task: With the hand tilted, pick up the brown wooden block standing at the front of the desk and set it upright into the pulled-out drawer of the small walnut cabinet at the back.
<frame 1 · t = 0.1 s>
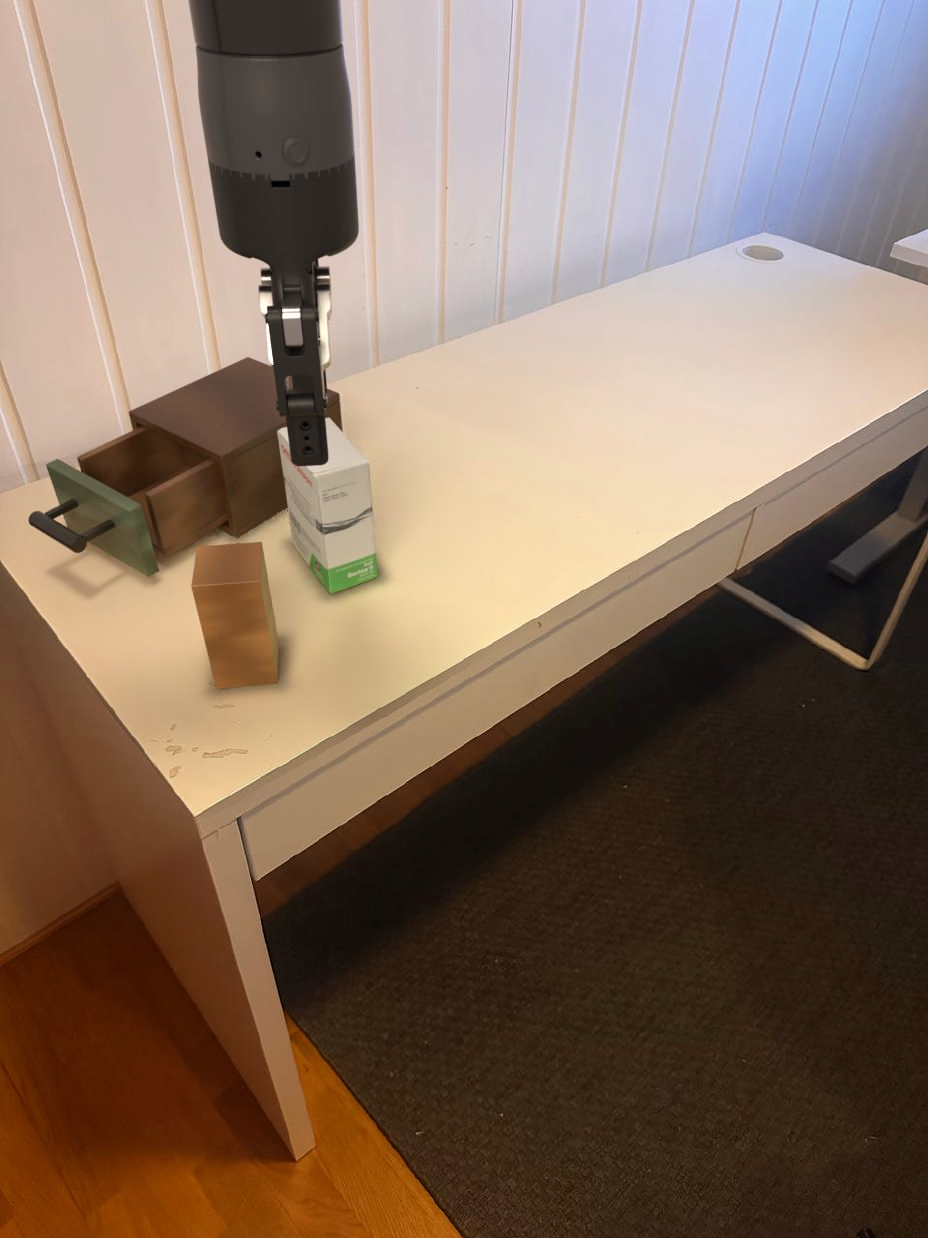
hand: (310, 427, 57), 20 cm above the table, tool pointing down, fingers open, 8 cm apart
brown wooden block: (248, 665, 69), on the table
cabinet: (249, 480, 89), on the table
ink box: (334, 562, 79), on the table
drawer: (141, 496, 79), point 4 cm above the table, slide at 8.0 cm
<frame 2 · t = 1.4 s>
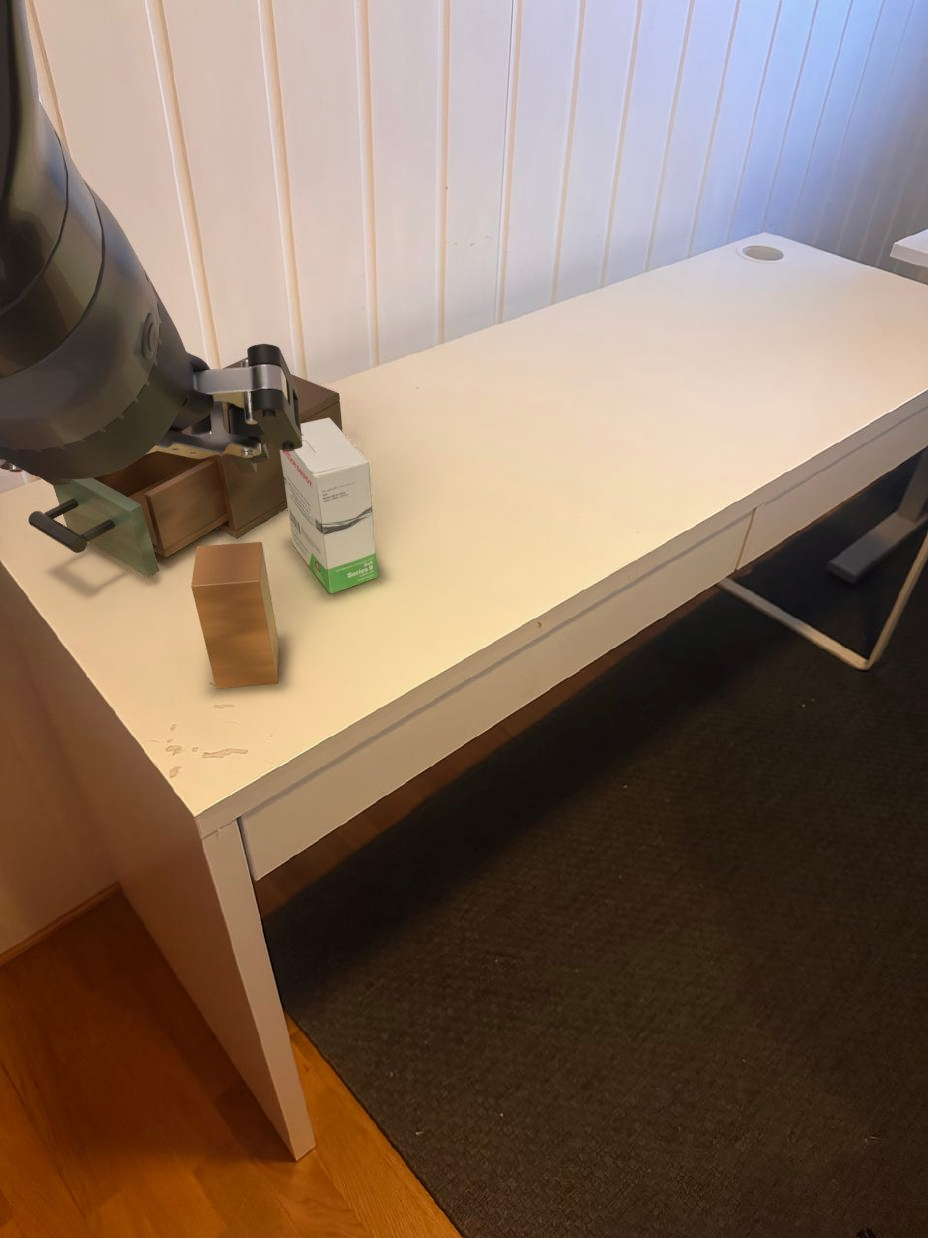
hand: (155, 457, 42), 26 cm above the table, tool tilted 45°, fingers open, 8 cm apart
nothing on the table moved.
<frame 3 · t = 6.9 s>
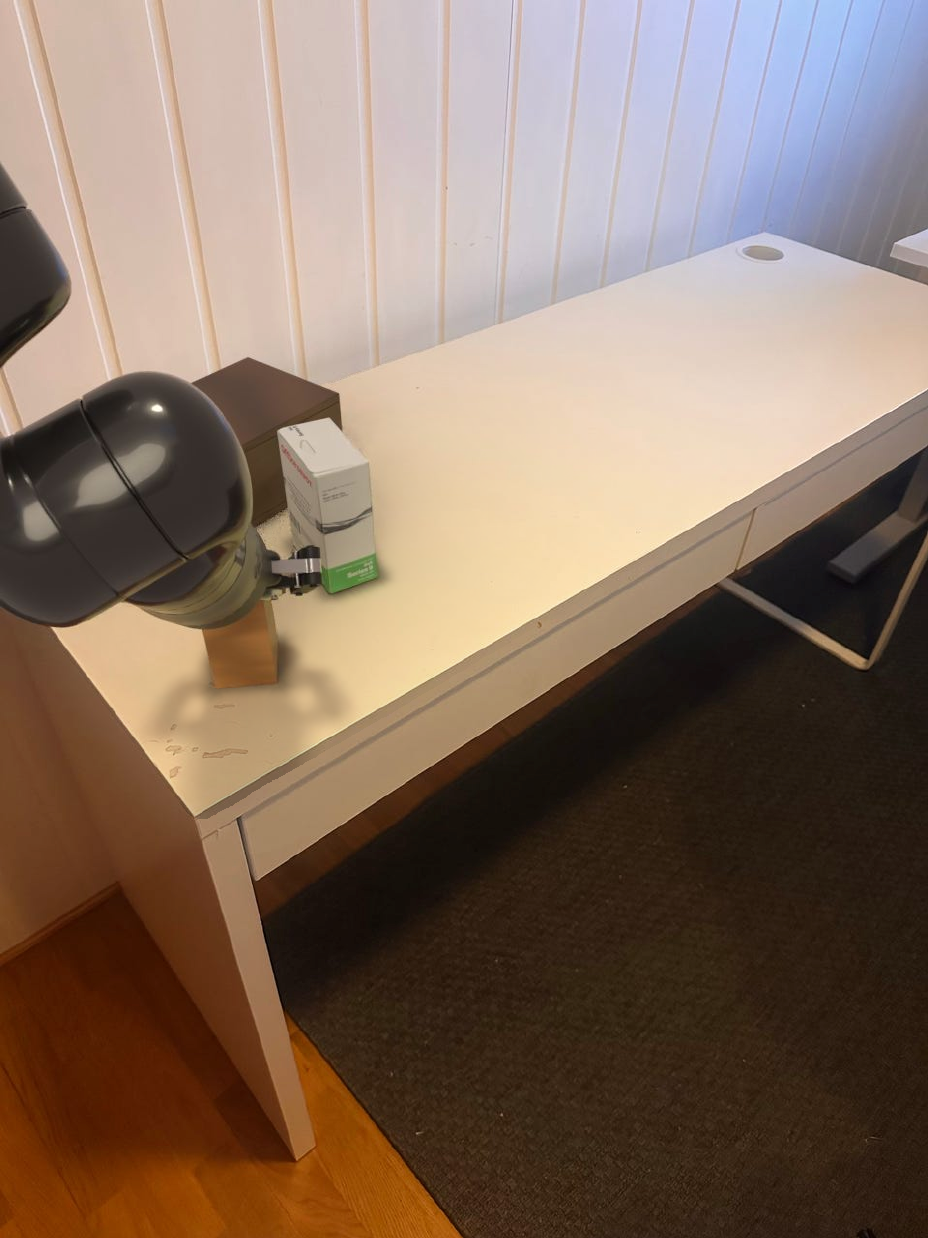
hand: (236, 588, 66), 6 cm above the table, tool tilted 45°, fingers closed on brown wooden block, 4 cm apart
brown wooden block: (247, 665, 69), on the table, touching gripper
everything else where it was.
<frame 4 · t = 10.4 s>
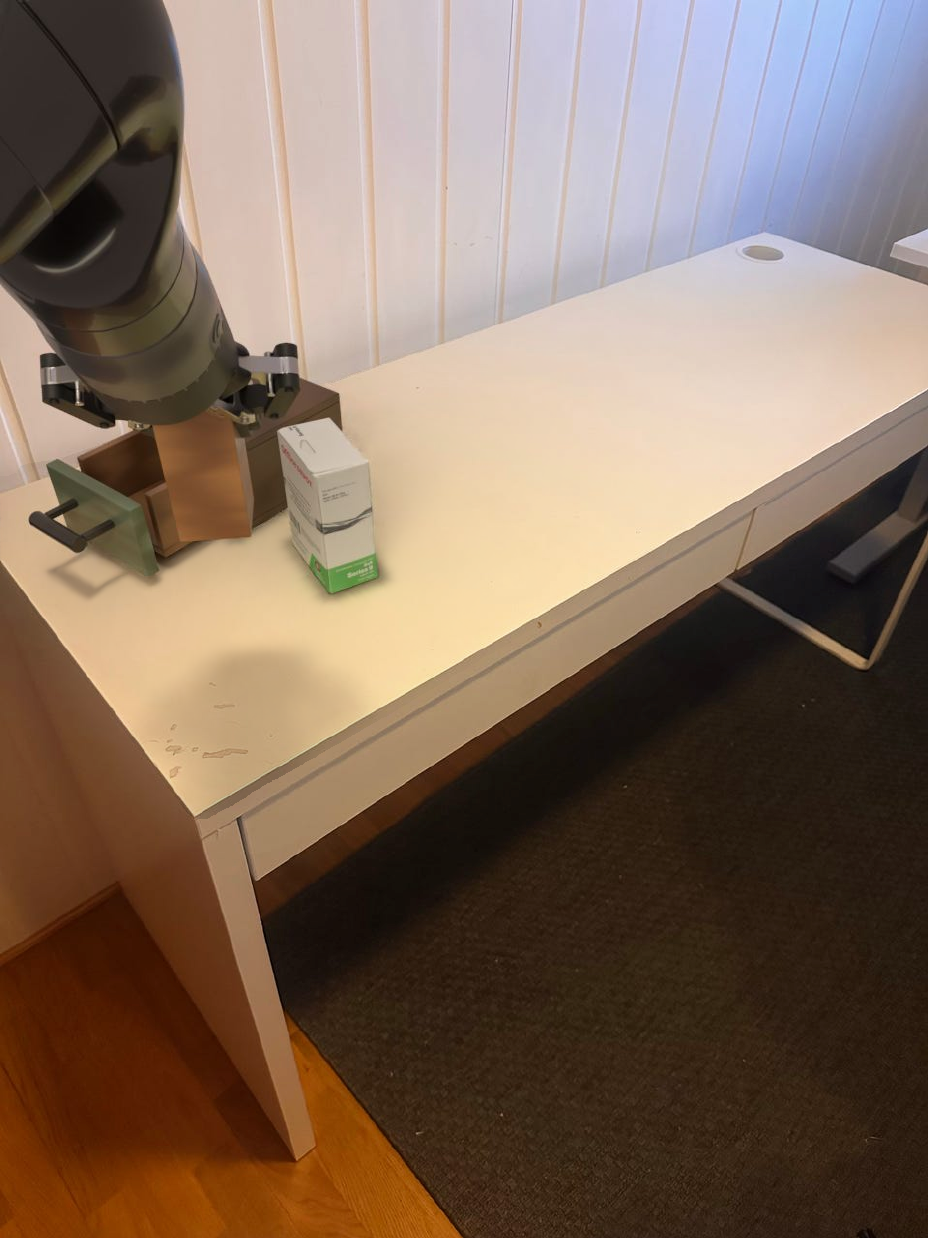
hand: (204, 424, 57), 20 cm above the table, tool tilted 45°, fingers closed on brown wooden block, 4 cm apart
brown wooden block: (218, 519, 60), point 14 cm above the table, touching gripper
everything else where it was.
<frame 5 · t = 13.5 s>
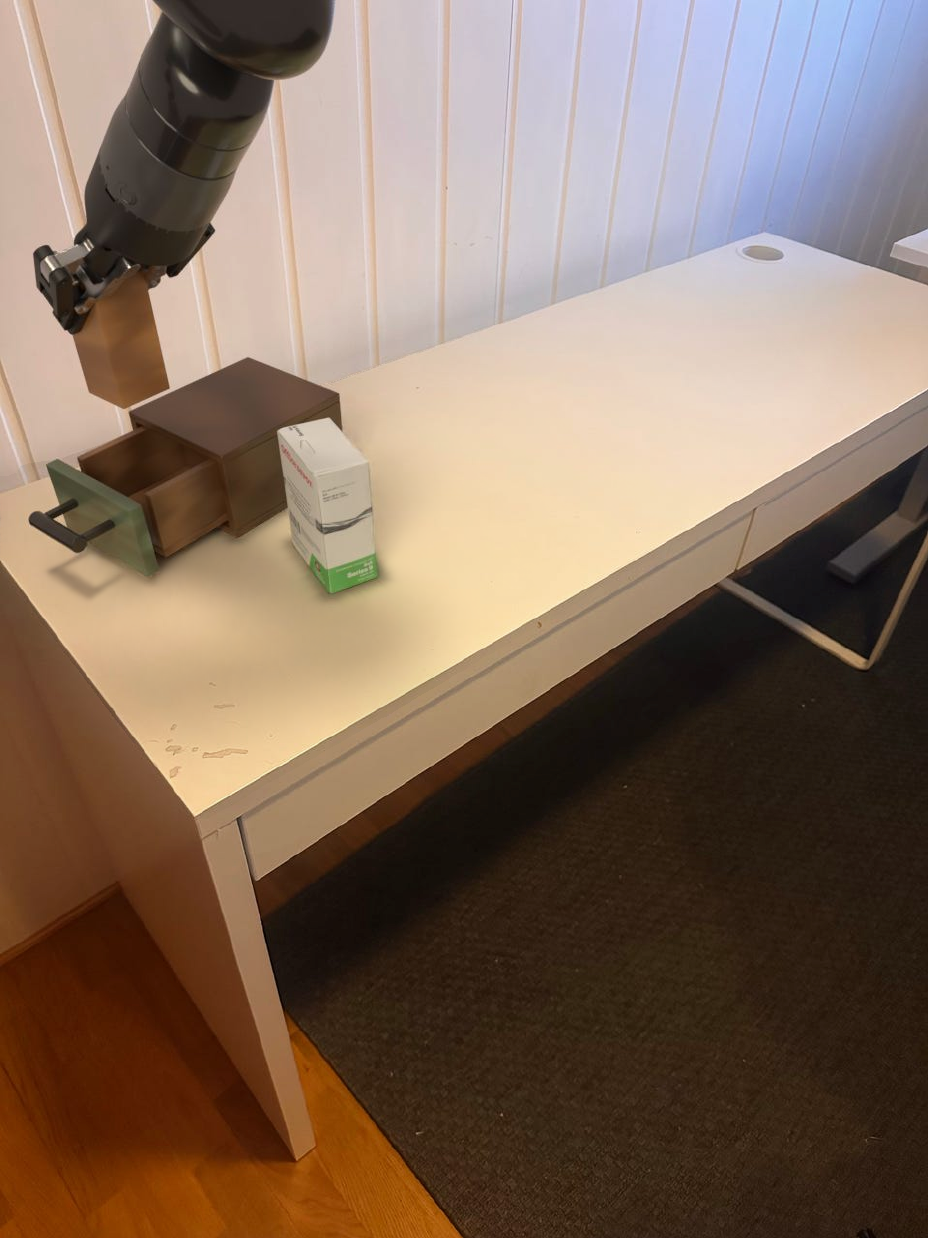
hand: (96, 311, 70), 20 cm above the table, tool tilted 45°, fingers closed on brown wooden block, 4 cm apart
brown wooden block: (129, 390, 73), point 14 cm above the table, touching gripper
everything else where it was.
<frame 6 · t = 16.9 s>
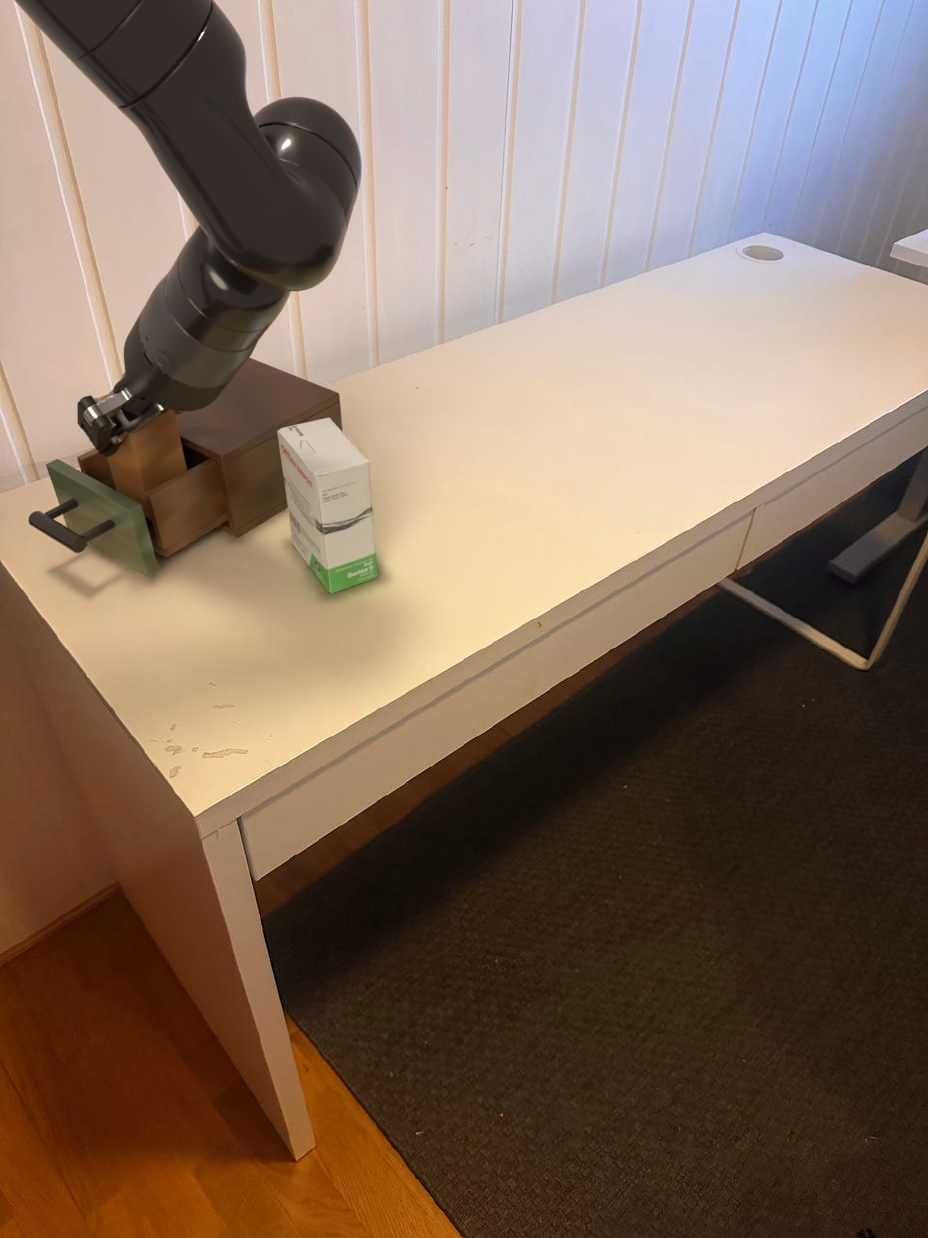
hand: (127, 433, 77), 9 cm above the table, tool tilted 45°, fingers closed on brown wooden block, 4 cm apart
brown wooden block: (157, 500, 80), point 3 cm above the table, touching gripper
everything else where it was.
when the fingers open (9 cm above the table, at t = 20.4 s): brown wooden block drops 1 cm, resting on drawer.
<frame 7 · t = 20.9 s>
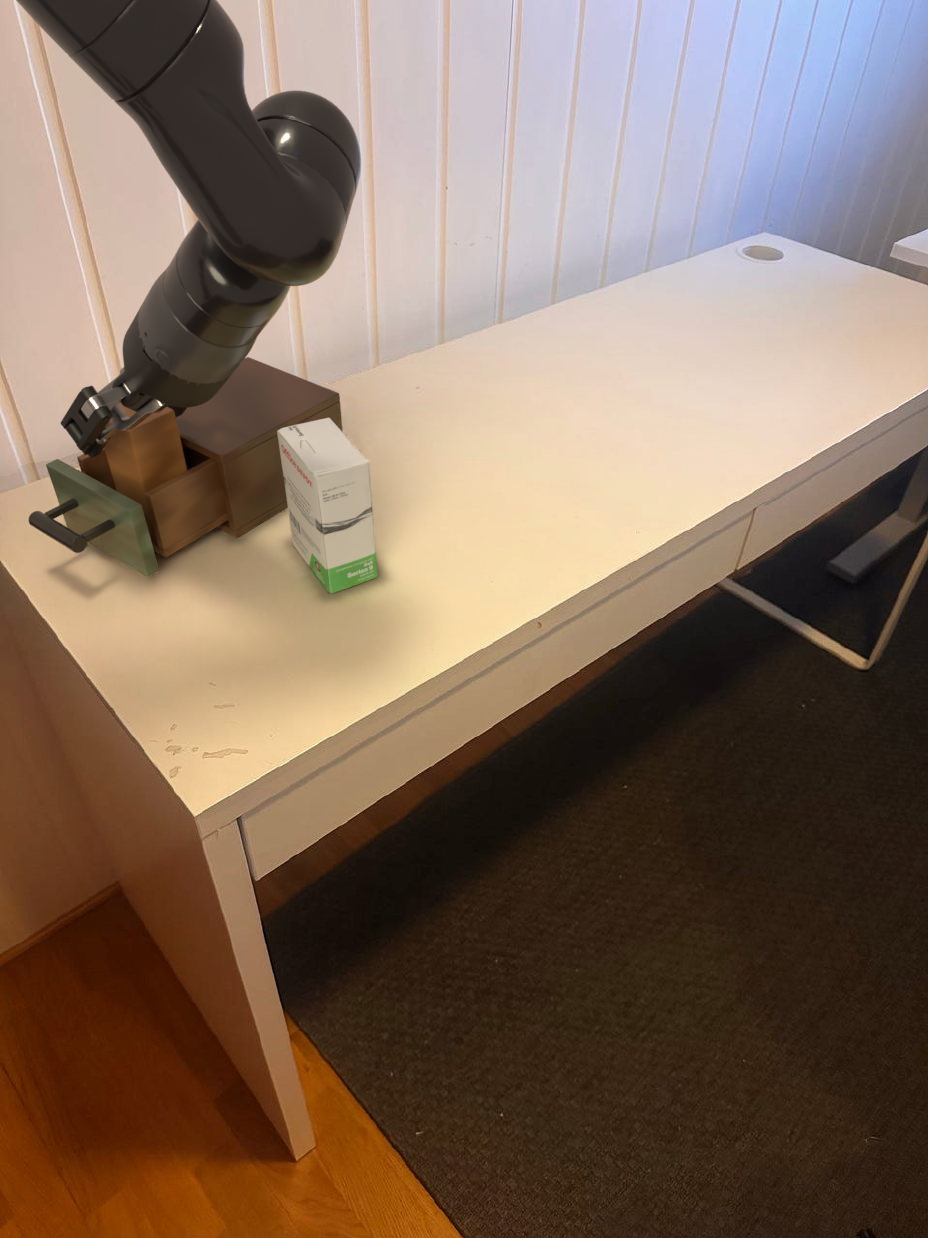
hand: (129, 426, 76), 10 cm above the table, tool tilted 45°, fingers open, 8 cm apart
brown wooden block: (159, 511, 81), point 2 cm above the table, touching drawer
drawer: (141, 496, 79), point 4 cm above the table, slide at 8.0 cm, touching brown wooden block
everything else where it was.
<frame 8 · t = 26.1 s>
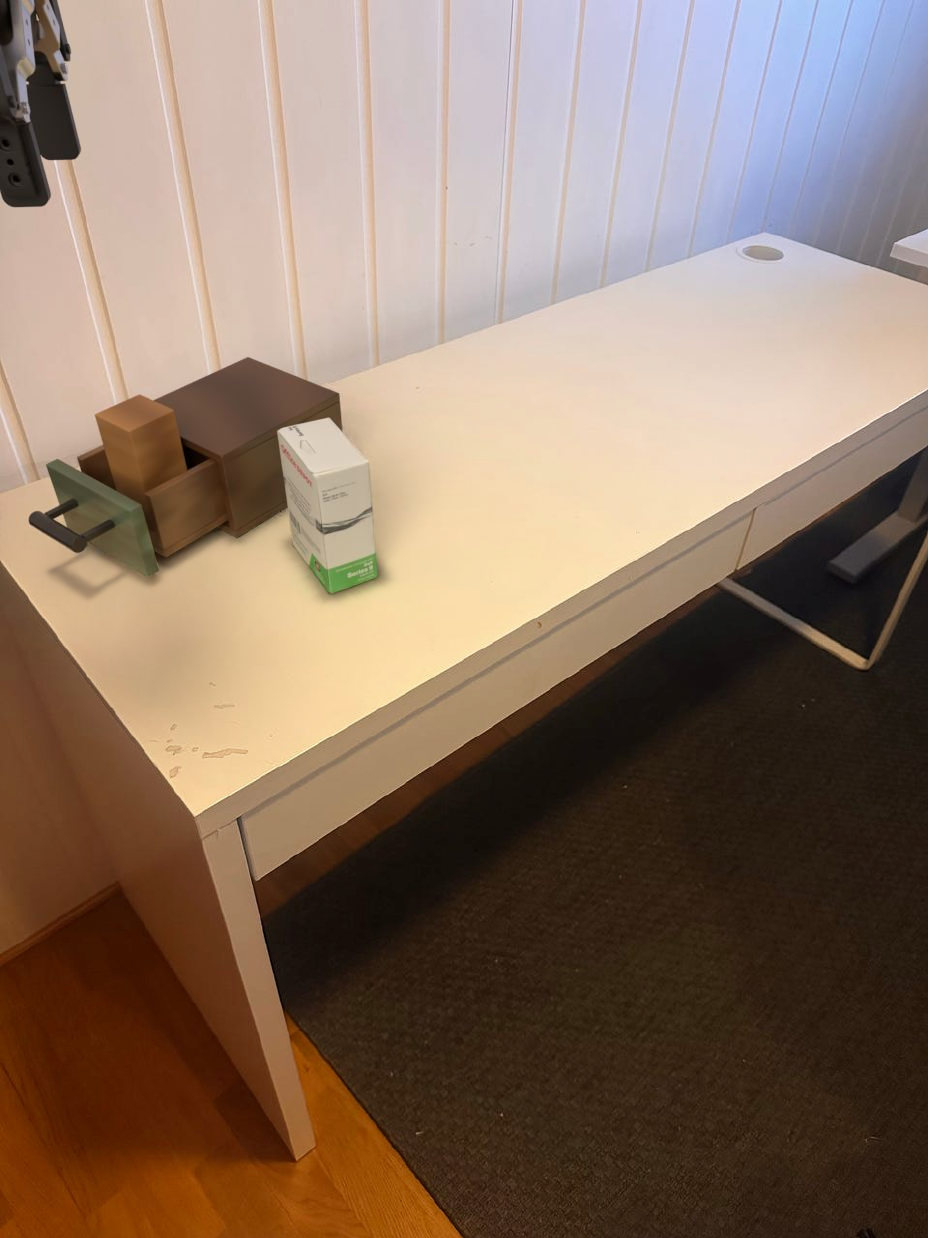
hand: (46, 180, 49), 34 cm above the table, tool pointing down, fingers open, 8 cm apart
nothing on the table moved.
at the end: brown wooden block inside the target area in the drawer (0.9 cm from its centre), point 2.0 cm above the cabinet's base; brown wooden block touching drawer; brown wooden block tilted 0° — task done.
